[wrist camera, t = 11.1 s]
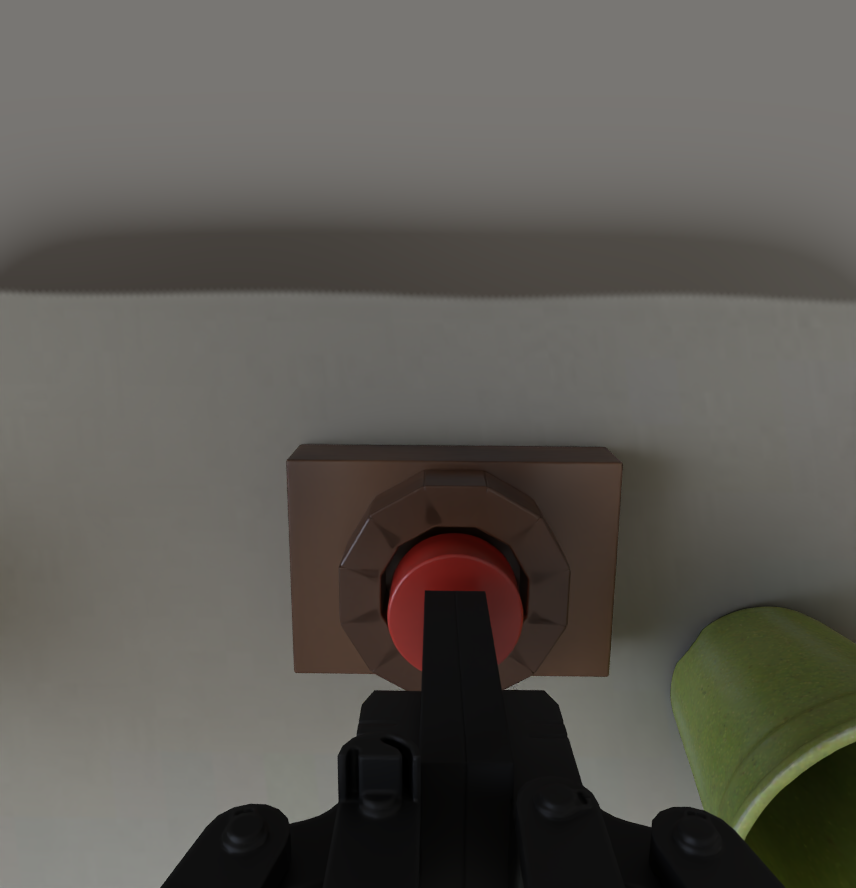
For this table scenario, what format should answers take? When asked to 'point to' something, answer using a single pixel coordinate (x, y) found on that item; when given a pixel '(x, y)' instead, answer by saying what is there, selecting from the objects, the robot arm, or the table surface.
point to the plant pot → (775, 739)
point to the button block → (452, 511)
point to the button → (453, 569)
